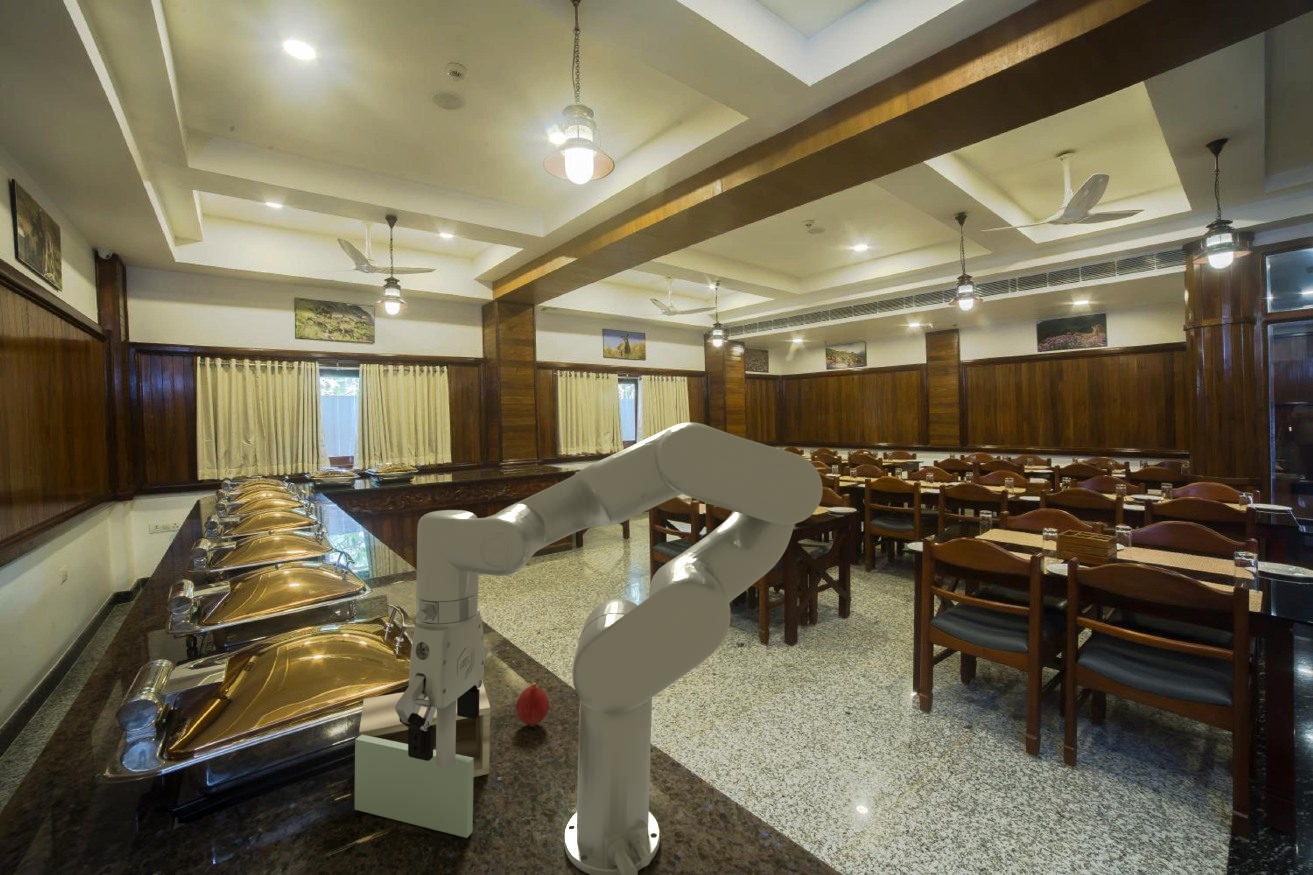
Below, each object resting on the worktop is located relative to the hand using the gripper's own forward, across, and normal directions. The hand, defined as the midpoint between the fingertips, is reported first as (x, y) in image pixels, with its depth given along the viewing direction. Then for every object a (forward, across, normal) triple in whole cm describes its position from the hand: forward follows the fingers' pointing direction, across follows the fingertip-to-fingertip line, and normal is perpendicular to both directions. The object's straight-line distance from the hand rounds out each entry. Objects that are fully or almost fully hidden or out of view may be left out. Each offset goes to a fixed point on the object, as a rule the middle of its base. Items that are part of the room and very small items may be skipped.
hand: (445, 735), depth 72 cm
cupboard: (+14, +12, +12) cm, 22 cm away
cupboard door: (+14, 0, +6) cm, 15 cm away
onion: (+14, +27, +2) cm, 31 cm away
